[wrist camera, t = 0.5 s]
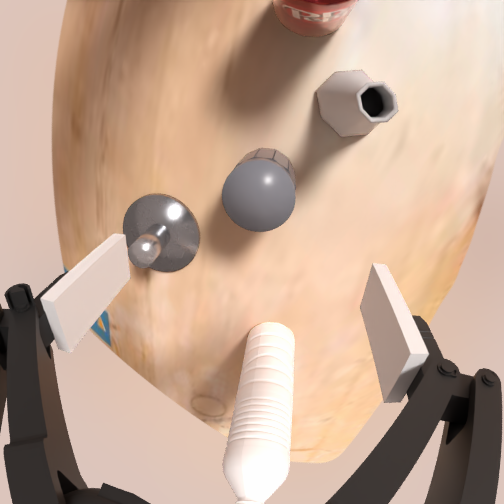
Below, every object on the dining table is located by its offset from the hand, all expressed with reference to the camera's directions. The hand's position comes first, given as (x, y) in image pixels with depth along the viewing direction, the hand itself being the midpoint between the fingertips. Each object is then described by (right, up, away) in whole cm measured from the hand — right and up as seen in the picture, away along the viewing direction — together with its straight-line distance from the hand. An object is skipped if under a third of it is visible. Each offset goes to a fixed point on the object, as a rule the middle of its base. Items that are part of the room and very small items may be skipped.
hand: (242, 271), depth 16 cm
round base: (-11, +3, +21) cm, 24 cm away
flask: (+11, +16, +12) cm, 23 cm away
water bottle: (+4, -11, +26) cm, 29 cm away
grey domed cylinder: (+2, +9, +16) cm, 19 cm away
